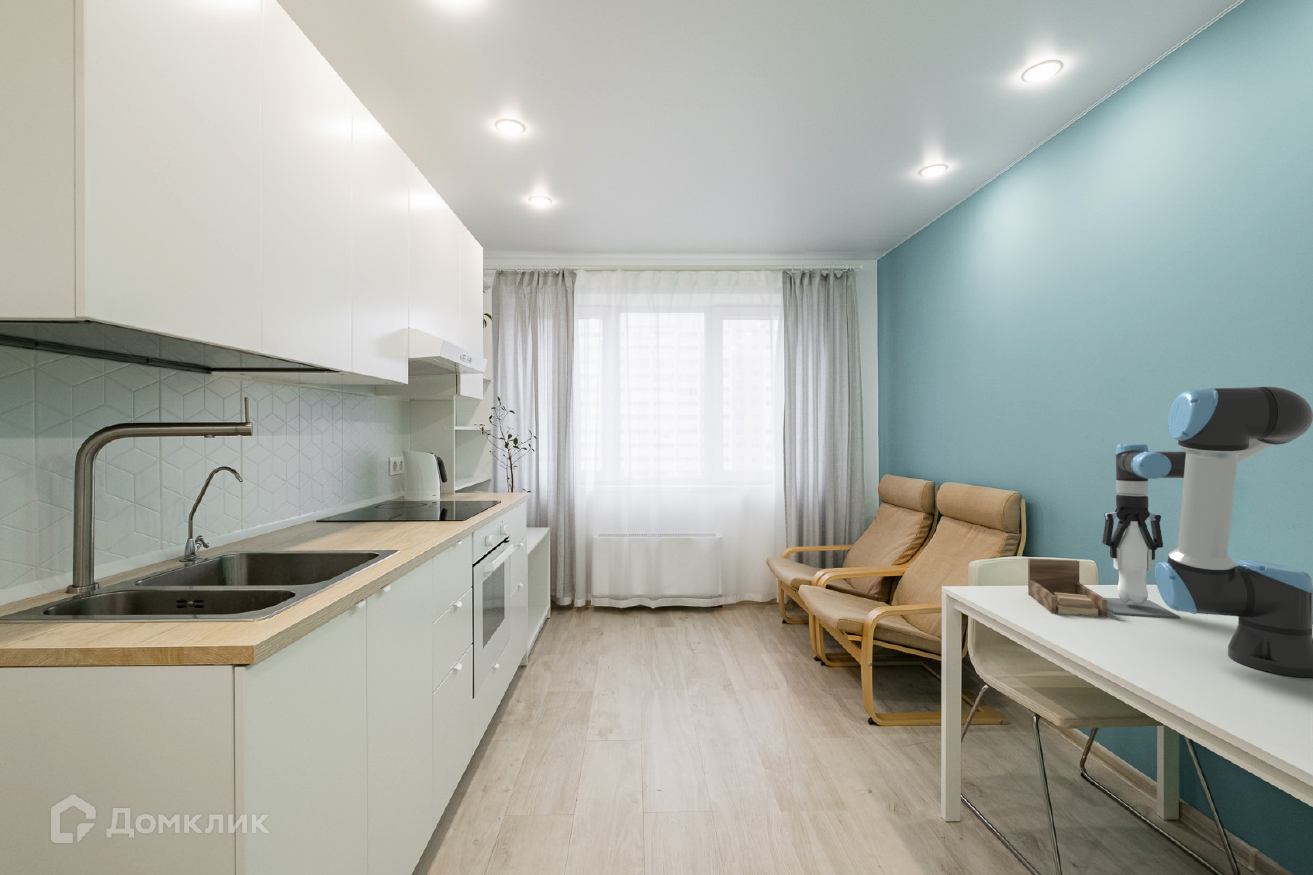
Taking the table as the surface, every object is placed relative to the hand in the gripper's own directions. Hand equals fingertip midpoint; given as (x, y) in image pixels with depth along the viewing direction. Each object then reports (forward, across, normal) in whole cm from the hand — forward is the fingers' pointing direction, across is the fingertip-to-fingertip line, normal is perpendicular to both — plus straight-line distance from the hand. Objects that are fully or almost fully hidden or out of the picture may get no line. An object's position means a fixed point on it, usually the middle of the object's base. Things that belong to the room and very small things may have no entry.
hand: (1132, 569), depth 172 cm
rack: (+12, +18, +1) cm, 22 cm away
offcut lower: (+13, +18, +7) cm, 23 cm away
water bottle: (+10, 0, 0) cm, 10 cm away
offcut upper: (+10, +18, +7) cm, 22 cm away
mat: (+12, 0, 0) cm, 12 cm away
